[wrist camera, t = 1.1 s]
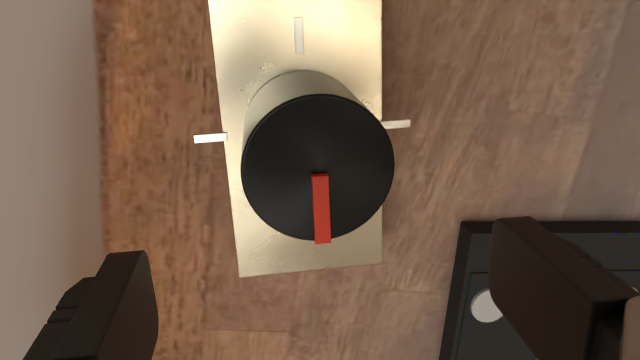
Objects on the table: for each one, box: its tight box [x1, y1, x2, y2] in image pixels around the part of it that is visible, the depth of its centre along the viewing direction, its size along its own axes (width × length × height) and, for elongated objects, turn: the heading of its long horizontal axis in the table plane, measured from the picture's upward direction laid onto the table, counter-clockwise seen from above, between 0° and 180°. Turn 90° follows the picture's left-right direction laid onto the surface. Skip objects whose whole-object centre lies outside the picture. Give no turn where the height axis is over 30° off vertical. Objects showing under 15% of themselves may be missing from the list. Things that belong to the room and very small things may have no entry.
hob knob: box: [240, 70, 395, 244], centre depth 19 cm, size 5×5×6 cm
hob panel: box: [193, 0, 410, 278], centre depth 23 cm, size 14×9×3 cm
